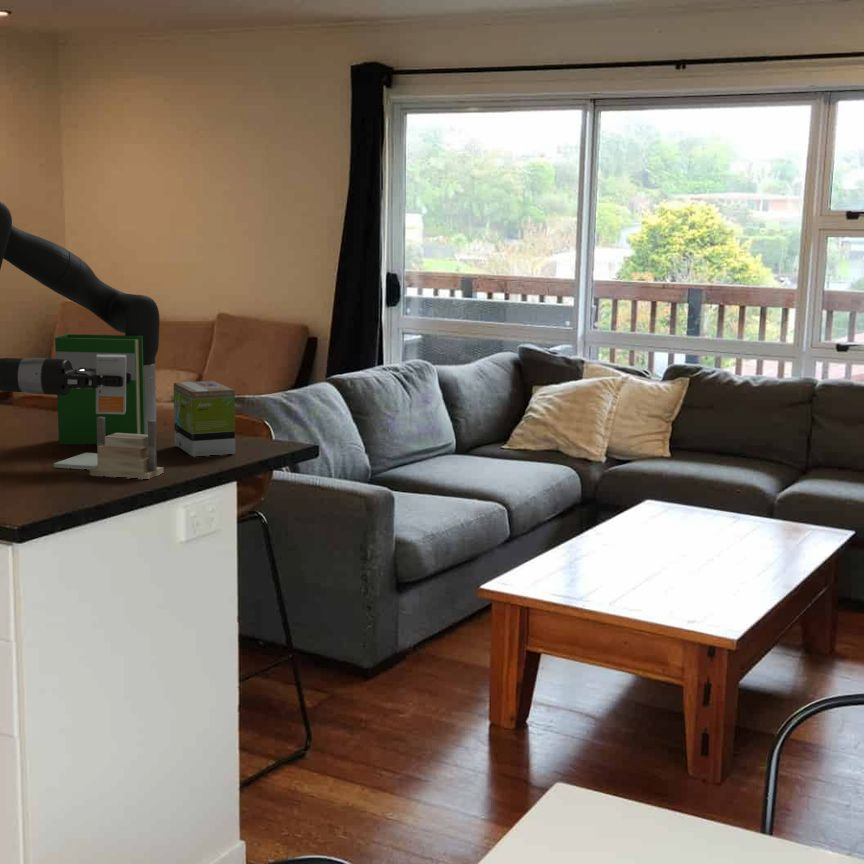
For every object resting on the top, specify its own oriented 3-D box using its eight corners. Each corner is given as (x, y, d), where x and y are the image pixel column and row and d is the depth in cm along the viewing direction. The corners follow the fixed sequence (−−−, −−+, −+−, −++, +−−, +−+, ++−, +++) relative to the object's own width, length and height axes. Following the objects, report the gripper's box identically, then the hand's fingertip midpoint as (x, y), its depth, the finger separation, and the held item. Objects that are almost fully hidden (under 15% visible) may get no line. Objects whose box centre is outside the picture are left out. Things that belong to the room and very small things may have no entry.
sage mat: (85, 456, 259) (85, 452, 259) (124, 459, 257) (124, 455, 257) (53, 467, 247) (53, 463, 247) (94, 470, 245) (94, 466, 245)
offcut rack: (107, 469, 246) (106, 414, 244) (163, 473, 244) (163, 418, 242) (90, 475, 240) (88, 419, 238) (147, 479, 237) (147, 423, 235)
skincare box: (95, 414, 248) (95, 356, 246) (96, 411, 252) (96, 354, 250) (126, 414, 249) (125, 356, 247) (126, 411, 253) (126, 354, 251)
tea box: (172, 446, 274) (172, 381, 272) (215, 443, 279) (215, 380, 276) (191, 457, 261) (191, 389, 258) (236, 455, 265) (236, 388, 263)
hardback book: (144, 438, 280) (142, 335, 276) (137, 445, 273) (134, 340, 268) (68, 437, 280) (65, 333, 276) (59, 443, 273) (54, 338, 268)
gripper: (32, 361, 242) (116, 365, 242) (57, 354, 256) (136, 358, 256) (33, 399, 243) (116, 402, 243) (57, 390, 258) (136, 393, 257)
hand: (126, 379), depth 249 cm, fingers closed on skincare box, 5 cm apart
